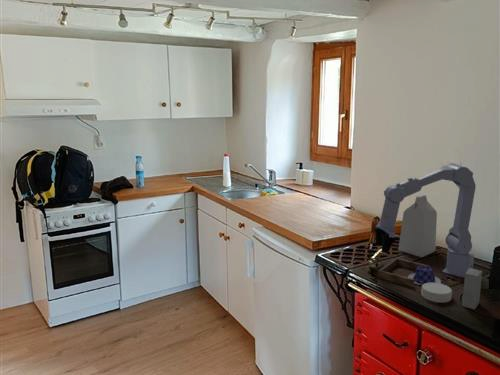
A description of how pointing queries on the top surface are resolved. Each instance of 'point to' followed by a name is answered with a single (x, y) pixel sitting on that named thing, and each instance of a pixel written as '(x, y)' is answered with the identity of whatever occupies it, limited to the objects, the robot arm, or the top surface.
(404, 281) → the holder
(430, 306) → the top surface
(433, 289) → the white short cylinder
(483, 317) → the top surface
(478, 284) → the skincare box
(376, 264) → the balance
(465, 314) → the top surface
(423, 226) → the milk
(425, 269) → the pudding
